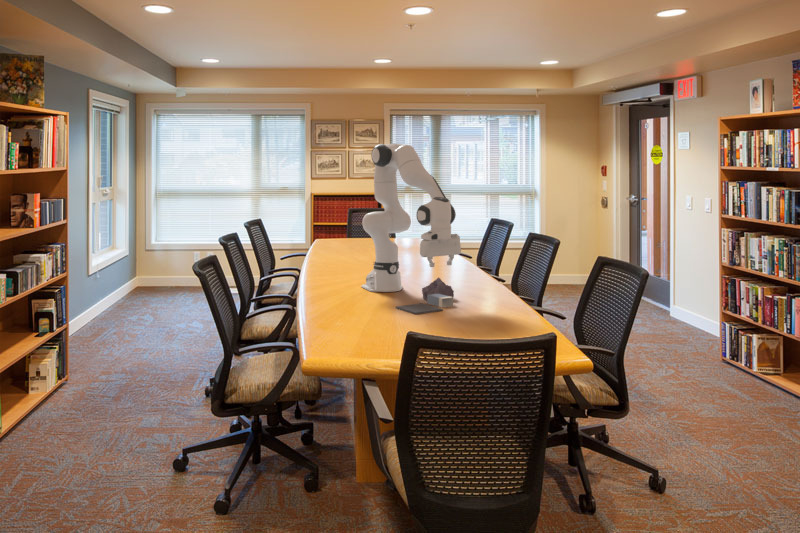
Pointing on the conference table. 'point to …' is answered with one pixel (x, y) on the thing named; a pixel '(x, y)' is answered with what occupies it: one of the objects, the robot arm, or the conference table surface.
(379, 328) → the conference table surface
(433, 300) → the block
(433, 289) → the stone
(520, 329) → the conference table surface
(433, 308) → the mat
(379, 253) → the robot arm
